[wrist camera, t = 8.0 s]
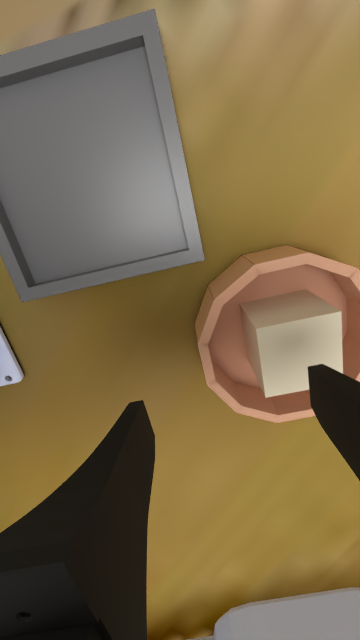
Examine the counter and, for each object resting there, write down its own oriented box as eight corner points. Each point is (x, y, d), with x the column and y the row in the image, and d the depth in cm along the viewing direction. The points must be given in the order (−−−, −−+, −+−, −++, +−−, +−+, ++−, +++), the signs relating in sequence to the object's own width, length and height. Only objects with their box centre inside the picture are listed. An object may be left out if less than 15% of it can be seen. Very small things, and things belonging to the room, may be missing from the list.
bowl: (212, 402, 23) (218, 433, 20) (182, 268, 20) (183, 280, 16) (352, 375, 22) (382, 403, 19) (349, 230, 19) (385, 234, 15)
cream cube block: (248, 360, 21) (265, 397, 17) (239, 303, 20) (255, 328, 16) (310, 348, 21) (343, 383, 17) (306, 289, 19) (341, 311, 15)
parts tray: (32, 295, 20) (21, 302, 19) (-55, 90, 16) (-78, 79, 15) (202, 256, 19) (204, 260, 18) (156, 27, 15) (154, 8, 14)
